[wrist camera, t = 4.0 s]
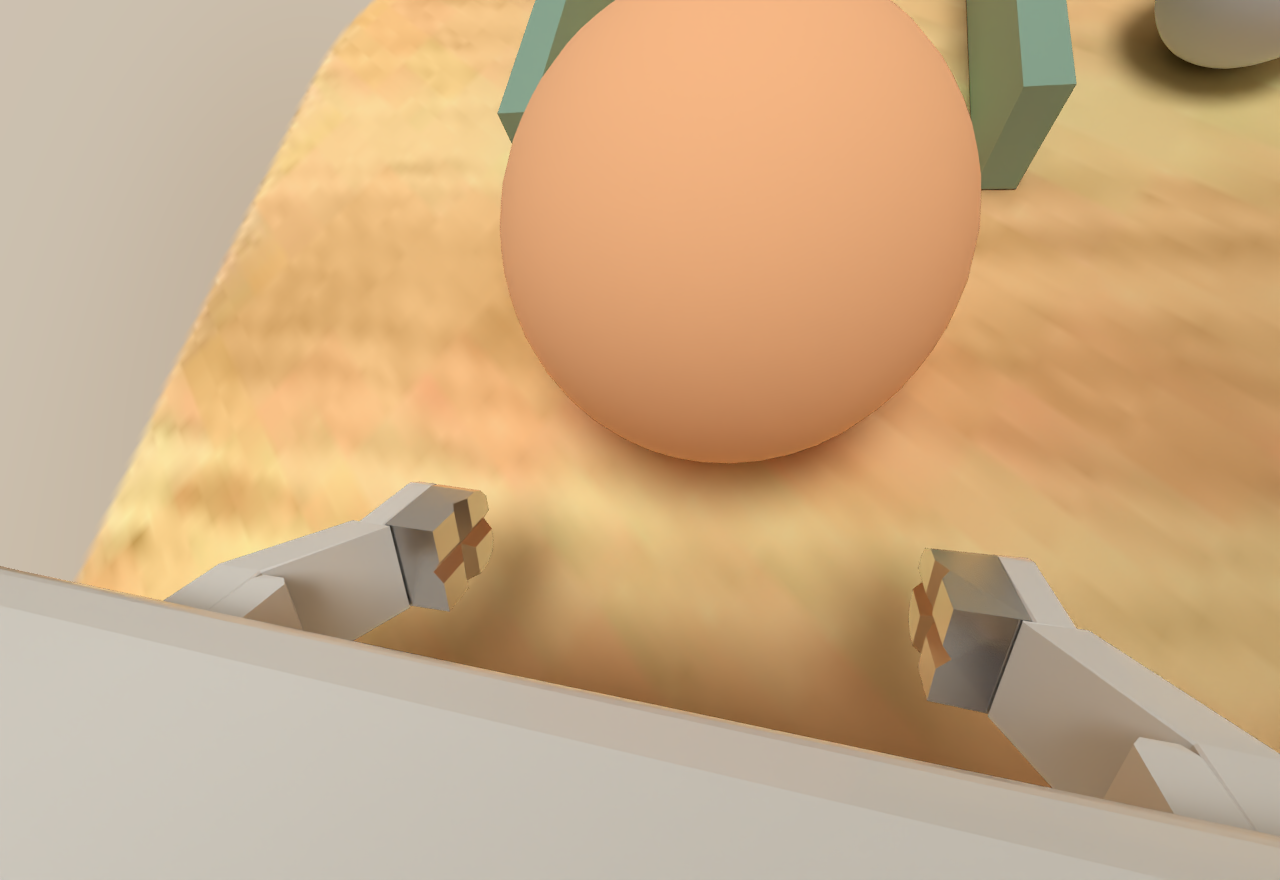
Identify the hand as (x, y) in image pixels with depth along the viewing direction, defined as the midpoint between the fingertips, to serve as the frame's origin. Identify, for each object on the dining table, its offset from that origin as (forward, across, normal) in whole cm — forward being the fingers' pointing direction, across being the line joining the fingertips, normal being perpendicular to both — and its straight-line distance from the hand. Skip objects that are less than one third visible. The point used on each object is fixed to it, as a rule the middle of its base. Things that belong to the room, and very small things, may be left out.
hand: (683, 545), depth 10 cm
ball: (+5, 0, -5) cm, 7 cm away
